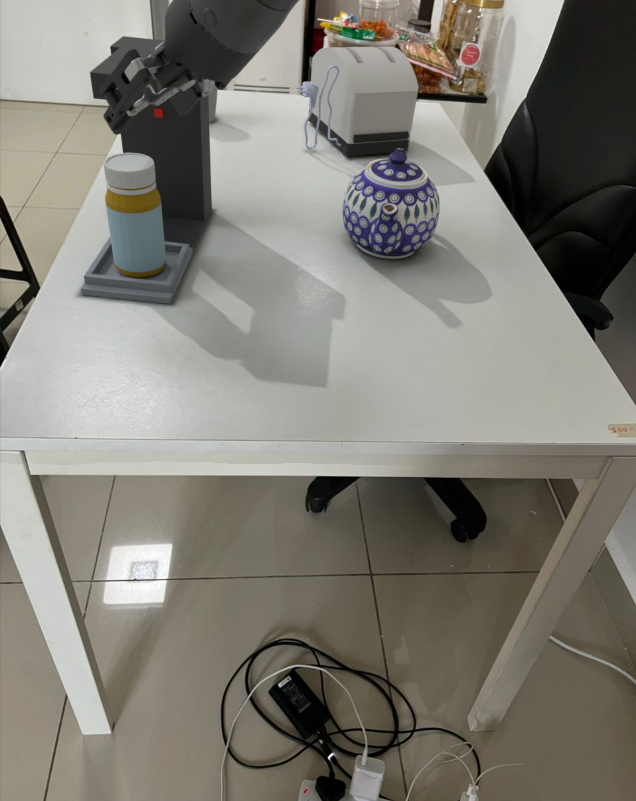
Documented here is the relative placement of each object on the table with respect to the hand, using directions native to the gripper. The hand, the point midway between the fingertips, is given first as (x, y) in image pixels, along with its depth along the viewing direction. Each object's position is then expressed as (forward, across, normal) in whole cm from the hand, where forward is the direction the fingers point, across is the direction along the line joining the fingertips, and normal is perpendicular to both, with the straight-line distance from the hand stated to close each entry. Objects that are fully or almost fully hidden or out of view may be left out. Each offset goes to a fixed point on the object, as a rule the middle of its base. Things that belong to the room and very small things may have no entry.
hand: (145, 116), depth 64 cm
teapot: (+13, -40, +24) cm, 49 cm away
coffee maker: (+30, -14, +7) cm, 34 cm away
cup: (+55, -59, -18) cm, 82 cm away
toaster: (+36, -73, +1) cm, 81 cm away
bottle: (+27, -7, +9) cm, 29 cm away
